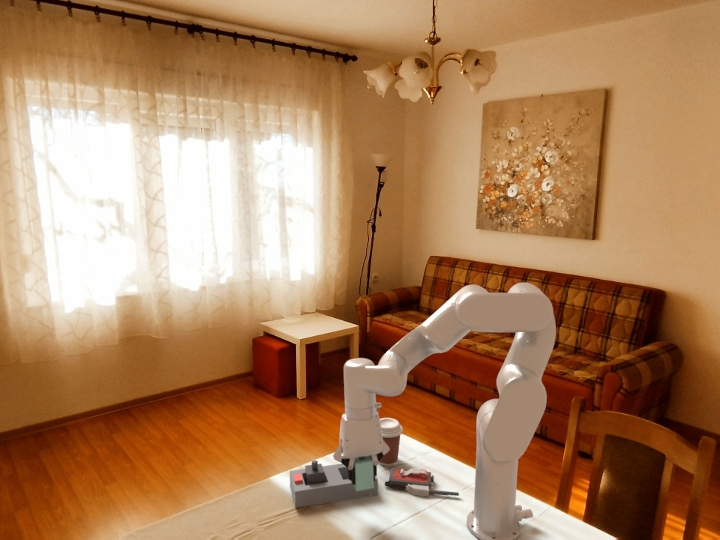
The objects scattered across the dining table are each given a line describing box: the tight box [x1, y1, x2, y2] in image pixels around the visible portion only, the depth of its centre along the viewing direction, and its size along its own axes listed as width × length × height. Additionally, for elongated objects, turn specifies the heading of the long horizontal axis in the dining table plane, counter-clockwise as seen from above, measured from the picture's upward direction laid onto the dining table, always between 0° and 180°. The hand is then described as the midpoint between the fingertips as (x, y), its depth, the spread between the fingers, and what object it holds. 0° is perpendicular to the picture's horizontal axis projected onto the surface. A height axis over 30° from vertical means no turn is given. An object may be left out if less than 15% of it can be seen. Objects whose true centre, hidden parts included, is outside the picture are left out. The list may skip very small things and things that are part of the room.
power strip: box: [289, 460, 379, 509], centre depth 137 cm, size 22×10×9 cm, turn 105°
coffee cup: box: [378, 417, 404, 467], centre depth 152 cm, size 9×9×12 cm
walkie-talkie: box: [384, 467, 460, 498], centre depth 140 cm, size 9×4×20 cm
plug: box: [354, 455, 374, 491], centre depth 125 cm, size 4×4×9 cm
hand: (362, 479), depth 126 cm, fingers closed on plug, 4 cm apart
